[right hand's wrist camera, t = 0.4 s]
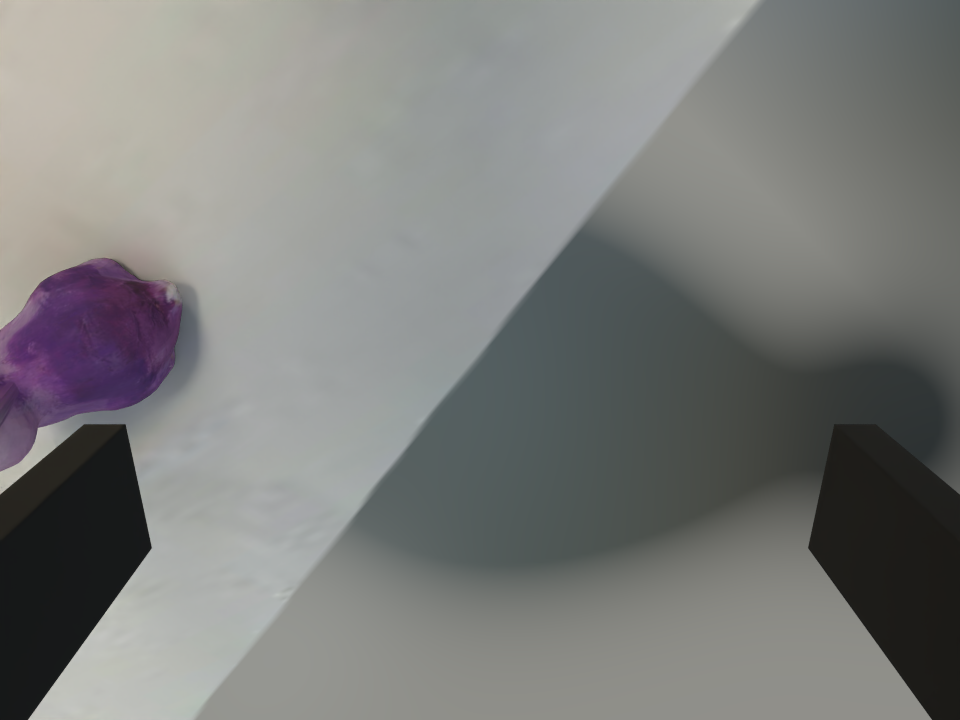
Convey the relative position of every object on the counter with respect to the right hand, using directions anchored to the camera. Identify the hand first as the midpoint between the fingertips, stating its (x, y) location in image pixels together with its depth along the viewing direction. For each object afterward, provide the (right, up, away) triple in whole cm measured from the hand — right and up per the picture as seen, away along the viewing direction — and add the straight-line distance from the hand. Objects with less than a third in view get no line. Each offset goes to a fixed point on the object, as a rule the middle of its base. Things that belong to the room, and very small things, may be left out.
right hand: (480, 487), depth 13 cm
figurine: (-22, +4, +29) cm, 36 cm away
